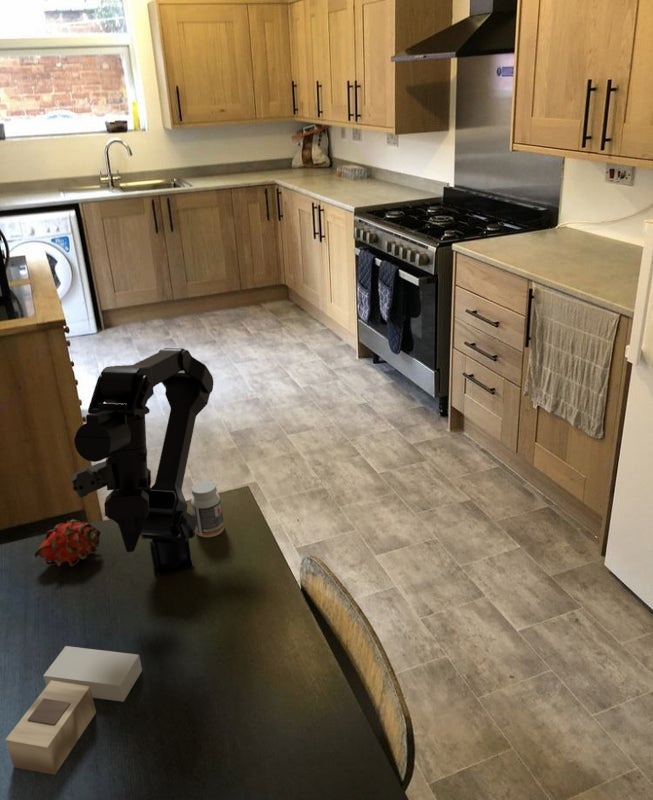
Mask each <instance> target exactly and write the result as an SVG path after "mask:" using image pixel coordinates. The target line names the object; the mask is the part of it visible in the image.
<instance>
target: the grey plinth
mask: <svg viewBox="0 0 653 800" xmlns="http://www.w3.org/2000/svg"><path fill="white" fill-rule="evenodd" d="M142 671H143V668H142V663H141V658H140V654H138V653H137V654H135V653H127V652H119V651H113V650H112V651H111V650H103V649H94V648H93V649H92V648H85V647H78V646H76V647H75V646H69V645H65V646H64V648H63V649H62V650H61V651H60V653H59V654H58V655H57V657H56V658H55V660H54V661H53V662H52V664H50V666H49V667H48V669H47V670H46V671H45V673H44V674H43V676H42V677H43V681H44V682H45V687H46V686H47V685H48V684H49V683H50V681H51V680H53V681H59V682H65V683H72V684H78V685H84V686H90V689H91V693H92V697H93V699H101V700H107V701H108V700H109V701H113V702H114V701H115V702H122V703H123V702H125V701H126V699H127V697H128V695H129V694H130V692H131V689H132V688H133V687H134V685H135V683H136V681H137V680H138V678H139V677H140V676H141V673H142Z"/></svg>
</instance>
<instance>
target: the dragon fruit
mask: <svg viewBox="0 0 653 800" xmlns="http://www.w3.org/2000/svg"><path fill="white" fill-rule="evenodd" d="M101 533H102V532H101V531H100V530H99V529H98V527H95V526H93V525H92V524H90V523H89V522H86V521H83V522H81V520H79V519H78V520H77V519H71V520H67V521H65V523H64V522H60V523H58V524H56V525H55V526H54V527H53V528H52V529H50V530H47V531H46V534H45V538H44V540H43V541H42V543H40V546H39V547H38V549H37V550H36V551H35V553H34V557H35V558H37V559H38V556H39V557H40V558H41V559H44V560H43V563H44V564H47V565H50V566H55V565H56V566H57V567H60V566H61V565H62V564H63V563H66V562H68V564H69V566H70V567H74V566H75V565H76V564H78V563H79V562H80V560H82V561H84V560H86V559H87V558H88V556H89V554H90V553H91V554H92V553H96V552H97V551H98V549H97V548H98V547H99V545H100V537H101Z"/></svg>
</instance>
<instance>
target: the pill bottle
mask: <svg viewBox="0 0 653 800" xmlns="http://www.w3.org/2000/svg"><path fill="white" fill-rule="evenodd" d="M217 491H218V490H217V485H216V483H215V482H213V481H210V480H209V481H208V480H204V481H199V482H197V483H195V484H193V485H192V487H191V495H192V498H191V502H190V503H191V504H190V505H191V511H192V516H194V517H195V518H196V528H195V530H194V531H195V534H197V535H198V536H199V537H202V538H213V537H216V536H218V535H220V534H222V532H223V531H224V529H225V523H224V522H225V521H224V517H223V516H224V515H223V508H222V502H221V497H220V495H219V493H217Z"/></svg>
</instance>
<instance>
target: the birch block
mask: <svg viewBox="0 0 653 800" xmlns="http://www.w3.org/2000/svg"><path fill="white" fill-rule="evenodd" d="M96 713H97V711H96V706H95V702H94V698H93V697H92V693H91V689H90V686H84V685H78V684H72V683H65V682H59V681H53V680H51V681H50V683H49V684H48V685H47V686H46V685H45V688H44V689H43V690H42V692H41V693H40V694H39V695H38V697H37V698H36V699H35V700H34V702H33V703H32V704H31V706H30V707H29V708H28V709H27V711H26V712H25V714H24V715H23V717H21V719H20V720H19V722H18V723H17V724H16V725H15V727H14V728H13V729H12V730H11V732H10V733H9V734H8V735H7V737H6V738H5V740H4V741H5V744H6V746H7V747H6V748H7V750H8V753H9V757H10V760H11V763H12V766H13V768H18V769H22V770H28V771H33V772H37V773H38V772H39V773H43V774H48V775H55V776H56V774H57V773H58V771H59V769H60V768H61V766H62V765H63V764H64V762H65V760H66V759H67V758H68V756H69V754H70V753H71V751H72V749H73V748H74V747H75V745H76V744H77V743H78V740H79V739H80V738H81V736H82V735H83V733H84V732H85V730H86V728H88V725H90V722H91V721H92V719H93V718H94V717H95V715H96Z"/></svg>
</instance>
